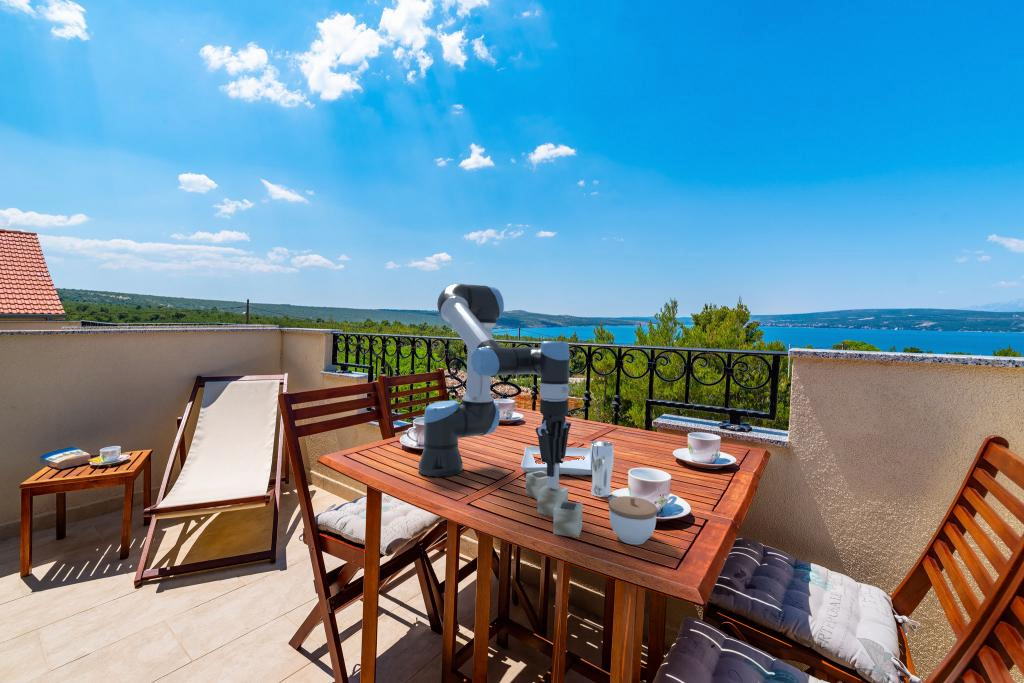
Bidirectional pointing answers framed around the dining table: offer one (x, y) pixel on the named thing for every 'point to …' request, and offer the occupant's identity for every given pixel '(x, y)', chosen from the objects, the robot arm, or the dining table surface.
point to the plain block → (550, 499)
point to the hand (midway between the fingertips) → (552, 487)
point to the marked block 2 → (567, 518)
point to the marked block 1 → (535, 482)
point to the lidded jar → (632, 519)
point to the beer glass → (601, 467)
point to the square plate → (565, 468)
